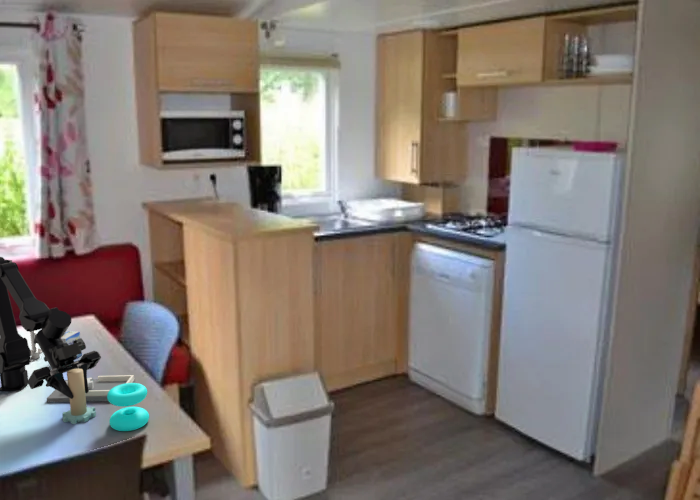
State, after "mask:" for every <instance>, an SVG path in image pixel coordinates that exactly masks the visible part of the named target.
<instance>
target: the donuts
mask: <svg viewBox="0 0 700 500" xmlns="http://www.w3.org/2000/svg"><path fill="white" fill-rule="evenodd" d="M147 395H148V388H147V387H146V386H145V385H143V384H142V383H137V382H135V383H125V384H121V385H118V386H115V387H113V388H112V389H111V390H110V391H109V392H108V394H107V399H108V401H107V402H109V403H110V405H113V406H115V407H122V408H120V409H118V410H116V411H115V412H113V413H112V414H111V416H110V417H109V426H110V427H111V428H112V429H113V430H116V431H119V432H130V431H131V432H132V431H135V430H138V429H140V428H142V427H144V426H145V425H146V424H148V422H149V421H150V413H149V411H147V409H146V408H143V407H140V406H135V405H138V404H140V403H141V402H143V401H144V400H145V399H146V397H147Z"/></svg>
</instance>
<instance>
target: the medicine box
mask: <svg viewBox="0 0 700 500" xmlns="http://www.w3.org/2000/svg"><path fill="white" fill-rule="evenodd" d="M80 338H81V333H80V331H77V330H76V331H75V330H69V331H68V330H67V331H66V332H65V334H64V335H63V336H62V337H61V339H62V341H63V342H64V343H67V344H68V345H71V344H73V341H75V340H77V339H80ZM82 351H83V350H81V352H82ZM82 356H83V352H82V354H78V355H77V358H76V359H74V361H75V360H77V359H78V358H81V357H82Z"/></svg>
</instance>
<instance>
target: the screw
mask: <svg viewBox="0 0 700 500" xmlns="http://www.w3.org/2000/svg"><path fill="white" fill-rule="evenodd" d="M29 333H30V336H29V337H30V341H31V342H30V343H31V344H30V345H31V346H30V347H31V349H30V351H31V356H30V358H31V359H32V360H37V359H40V356H41V354H43V352H42V350H41V348H39V347H38V344H34V339H35V334H37V331H32V332H29Z"/></svg>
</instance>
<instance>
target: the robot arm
mask: <svg viewBox="0 0 700 500" xmlns="http://www.w3.org/2000/svg"><path fill="white" fill-rule="evenodd" d="M9 293H10V295H9ZM10 296H11V297H12V299H13V301H14V302H15V303H16V305H17V307H18V310H19V315H18V317H19V320H20V324H21V327H22V328H23V329H24V330H25V331H26V332H29V333H30V332H32V331H35V332H36V334H35V339H34V344H37V346H39V349H41V350H42V352H43V353H42V354H43V356H44V357H43V361H44V362H48V365H49V366H50V367H49V366H43V367H40V368H38V369H35V370H33V371H32V373H31V374H30V375H28V374H29V373H28V370H27V369H26V366H29V365H30V364H31V351H30V350H31V349H30V347H29V343H28V339H27V338H26V337H23V336H22V335H21V334H19V331H18V328H17V323H16V319H15V315H14V312H13V306H12V303H11V299H10ZM71 324H72V317H71V315H70V314H68V313H67V312H66V311H64V310H59V308H58V307H52V308H49V307H48V305H47V304H46V303H45V302H43V301H41V300H39V299H37V298H36V297H35V295H34V293H33V291H32V290H31V289H30V287H29V285H28V283H27V282H26V281H25V279H24V277H23V276H22V274H21V272H20V271H19V266H18V264H17V262H14V261H13V260H11V259H6V258H4V257H3V256H0V392H1V391H5V392H6V391H7V392H8V391H9V392H10V391H21V390H23V389H24V388H25V387H26V386H27V385H28V386H29V387H30V389H31V390H34V389H37V388H39V387H42V386H43V384H44V382H45V381H46V384H45V387H46V388H47V387H50V388H52V389H54V390H55V389H56V390H58V391H60V392H61V393H63V394H64V395H66V396H67V397H69V398H70V399H73V397H74V396H73V394H72V391H71V390H70V388H69V386H68V385H67V383H66V382H65V380H66V379H65V378H64V374H65V373H67V371H69V370H72V369H83V375H84V385H85V393H88V391H89V390H88V382H87V378H88V373H87V371H88V370H91V369H94V368H95V367H96V366H97V364H98V363H99V362H100V360H101V359H102V356H101V354H100V353H99V352H98V351H96V350H93V351H89V352H86V353H84V354H83V352H81V350H82V351H83V350H86V348H87V345H86V344H85V341H84V340H83V338H82V337H80V339H77V340H75V341H73V344H71V345H68V344H67V343H64V342H63V341H62V339H61V337H62V336H63V335H64V334H65V333H66V332H68V329H69V327H70V325H71ZM78 354H82V356H81V357H80V359H78V358H77V355H78ZM76 358H77V359H78V360H77V359H76ZM74 359H75V360H76V361H75V360H74ZM50 368H51V369H50ZM28 376H30V377H28Z"/></svg>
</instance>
